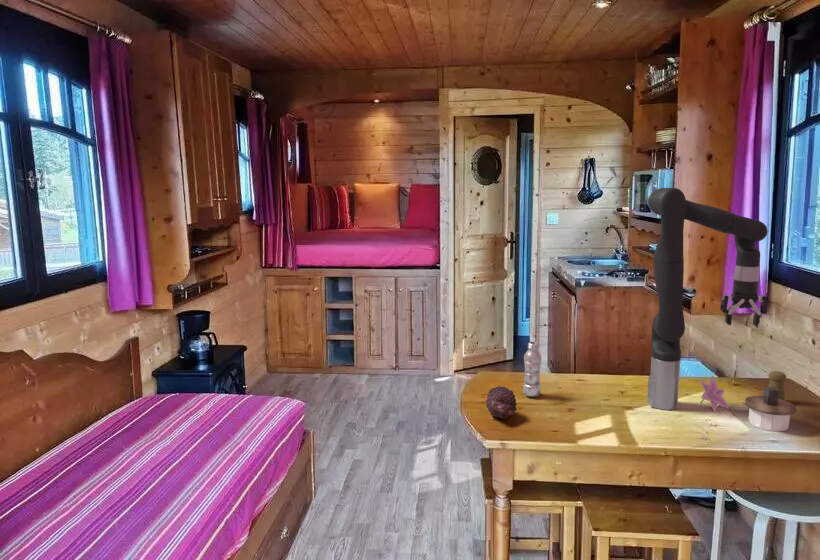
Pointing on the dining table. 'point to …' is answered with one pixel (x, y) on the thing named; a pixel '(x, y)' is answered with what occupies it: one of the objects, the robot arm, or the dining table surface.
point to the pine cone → (501, 402)
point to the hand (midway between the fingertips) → (742, 324)
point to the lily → (713, 394)
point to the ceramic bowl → (769, 421)
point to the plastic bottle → (532, 370)
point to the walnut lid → (770, 403)
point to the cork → (778, 382)
